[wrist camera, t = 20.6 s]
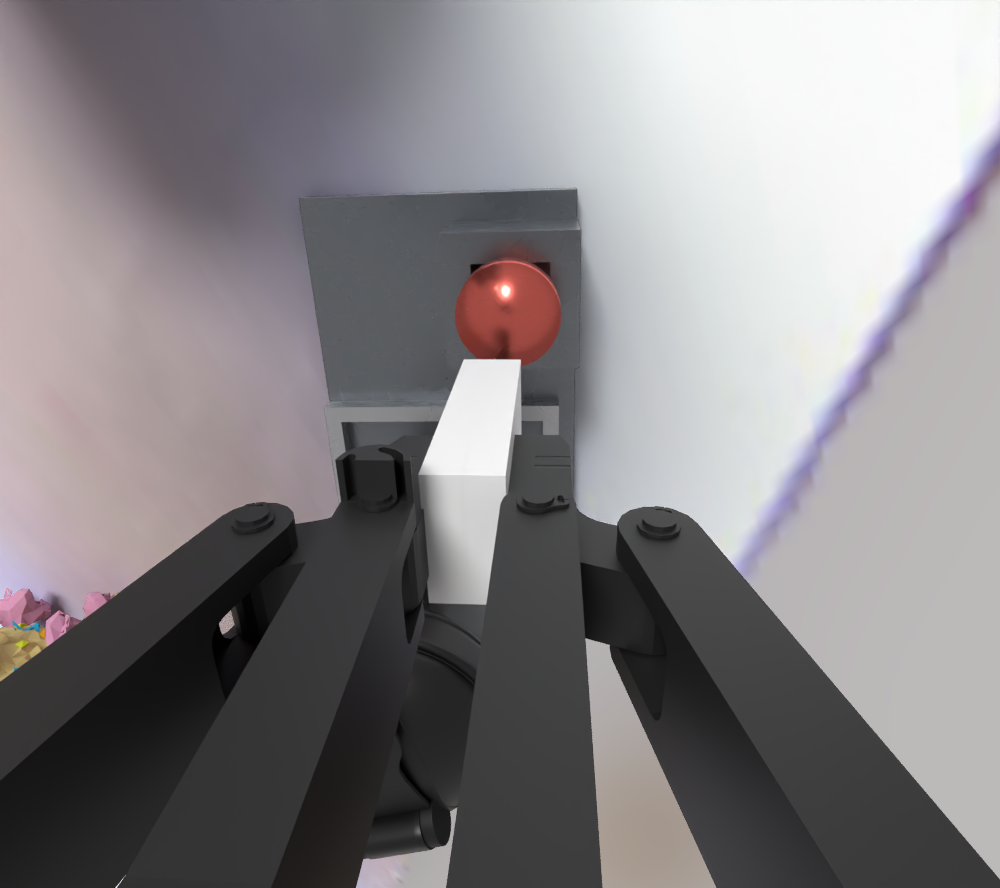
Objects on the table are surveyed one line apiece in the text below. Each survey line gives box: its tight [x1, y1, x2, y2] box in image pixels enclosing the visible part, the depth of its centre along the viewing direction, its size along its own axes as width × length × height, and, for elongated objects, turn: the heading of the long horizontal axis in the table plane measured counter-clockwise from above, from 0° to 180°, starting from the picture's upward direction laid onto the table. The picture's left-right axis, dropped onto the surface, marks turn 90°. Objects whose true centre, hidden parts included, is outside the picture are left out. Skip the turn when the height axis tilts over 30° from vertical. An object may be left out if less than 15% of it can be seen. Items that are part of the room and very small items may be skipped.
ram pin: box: [455, 258, 561, 367], centre depth 34 cm, size 5×5×8 cm
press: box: [299, 188, 581, 504], centre depth 41 cm, size 16×28×8 cm, turn 2°
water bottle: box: [363, 584, 486, 859], centre depth 35 cm, size 10×10×23 cm
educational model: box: [0, 588, 118, 681], centre depth 46 cm, size 23×22×20 cm
